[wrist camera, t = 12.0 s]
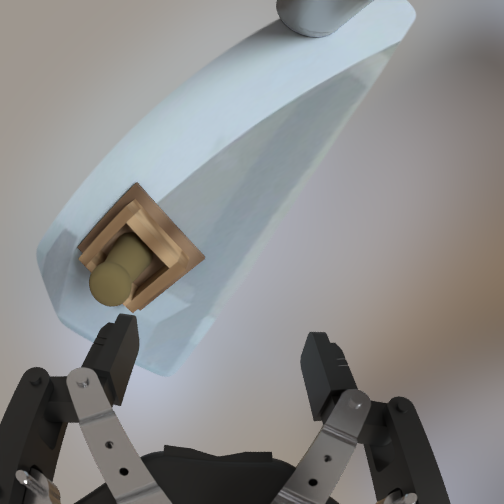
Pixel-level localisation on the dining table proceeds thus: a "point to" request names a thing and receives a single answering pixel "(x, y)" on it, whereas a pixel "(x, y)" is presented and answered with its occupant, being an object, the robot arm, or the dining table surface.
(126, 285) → the cork
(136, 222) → the shaker caddy
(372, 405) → the robot arm
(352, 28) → the dining table surface
